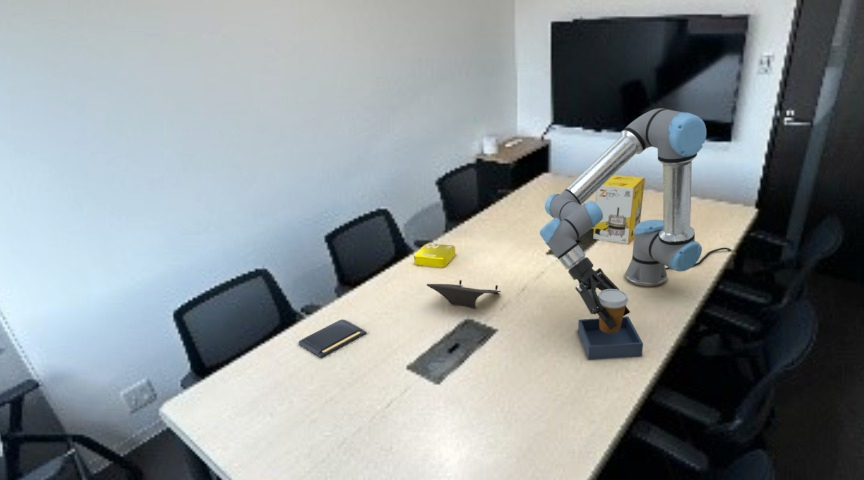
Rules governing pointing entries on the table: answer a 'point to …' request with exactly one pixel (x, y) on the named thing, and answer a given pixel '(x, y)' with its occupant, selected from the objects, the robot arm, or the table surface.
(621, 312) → the disposable coffee cup
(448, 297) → the dark gray curved stand
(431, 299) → the table surface
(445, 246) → the element tile
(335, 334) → the wallet
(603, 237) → the packaging box
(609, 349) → the bin
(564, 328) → the table surface
